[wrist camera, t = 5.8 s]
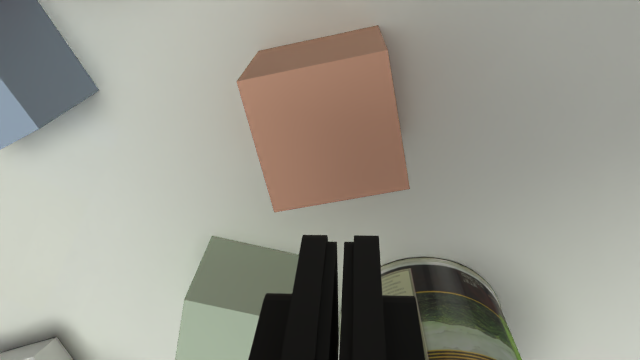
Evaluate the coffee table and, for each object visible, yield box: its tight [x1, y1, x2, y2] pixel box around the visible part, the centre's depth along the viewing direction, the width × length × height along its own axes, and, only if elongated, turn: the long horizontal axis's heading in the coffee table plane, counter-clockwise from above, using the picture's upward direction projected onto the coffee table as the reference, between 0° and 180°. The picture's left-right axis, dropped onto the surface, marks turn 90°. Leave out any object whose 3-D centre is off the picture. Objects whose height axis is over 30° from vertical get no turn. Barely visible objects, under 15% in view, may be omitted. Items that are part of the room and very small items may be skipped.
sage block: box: [175, 236, 299, 360], centre depth 29 cm, size 6×6×6 cm
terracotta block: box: [237, 25, 410, 212], centre depth 24 cm, size 6×6×6 cm
